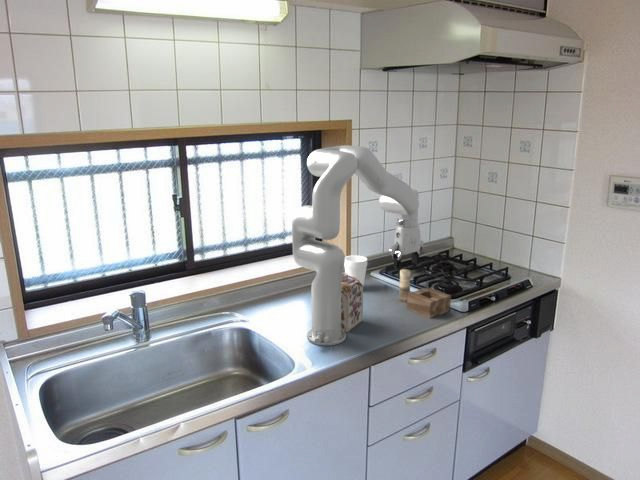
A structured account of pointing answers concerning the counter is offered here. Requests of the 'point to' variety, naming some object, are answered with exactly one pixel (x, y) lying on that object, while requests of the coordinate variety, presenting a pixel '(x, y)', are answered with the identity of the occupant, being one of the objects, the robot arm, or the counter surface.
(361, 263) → the foam cup
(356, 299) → the decorative jar
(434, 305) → the socket block
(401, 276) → the beech dowel
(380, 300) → the counter surface
